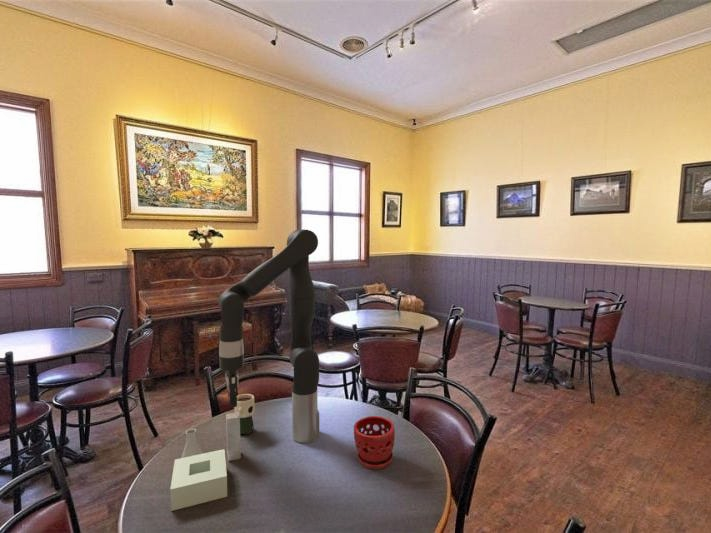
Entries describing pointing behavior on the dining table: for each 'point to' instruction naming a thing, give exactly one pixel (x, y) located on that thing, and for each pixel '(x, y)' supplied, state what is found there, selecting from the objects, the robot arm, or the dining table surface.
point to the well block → (198, 479)
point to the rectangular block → (233, 436)
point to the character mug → (245, 412)
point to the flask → (191, 444)
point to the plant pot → (374, 442)
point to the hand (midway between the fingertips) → (232, 401)
